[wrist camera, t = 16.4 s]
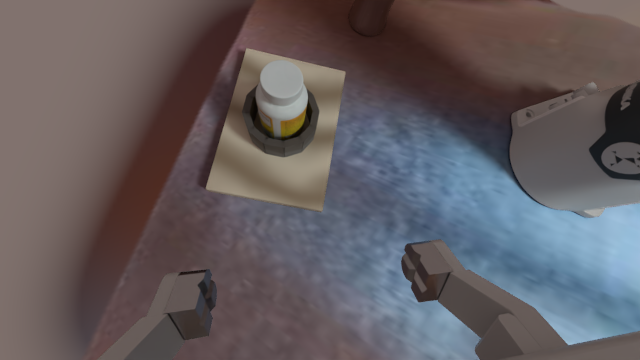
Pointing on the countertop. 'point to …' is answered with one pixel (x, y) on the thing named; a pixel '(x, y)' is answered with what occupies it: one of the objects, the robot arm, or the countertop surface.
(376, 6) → the beer glass
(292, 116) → the supplement bottle
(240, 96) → the collar stand
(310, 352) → the countertop surface
